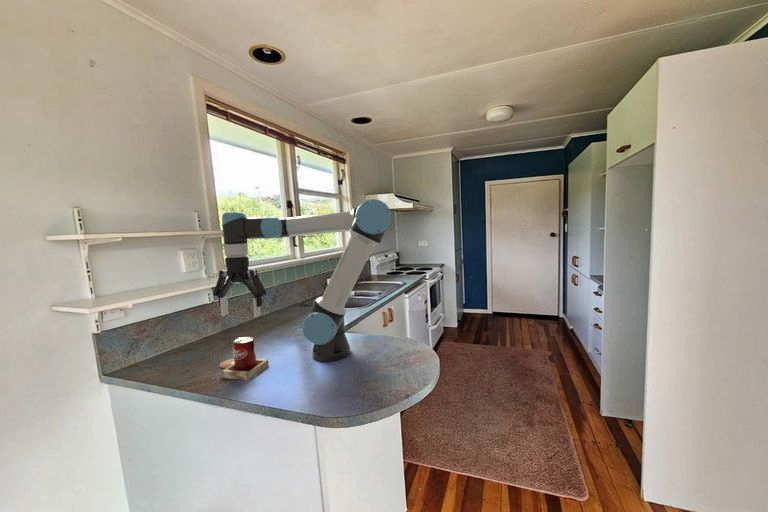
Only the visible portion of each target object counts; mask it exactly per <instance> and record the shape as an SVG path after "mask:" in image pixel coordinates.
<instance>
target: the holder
mask: <svg viewBox="0 0 768 512" xmlns="http://www.w3.org/2000/svg"><path fill="white" fill-rule="evenodd" d="M256 362H257V366H256V367H254V368H253V369H251V370H250V371H235V366H234V364H233V365H231V366H229V367H228V368H223V369H222V370H221V378H222V379H229V380H231V379H232V380H244V381H251V379H253V378H254V377H256V376H257V375H259V374H260V373H261V372H263V371H264V370H266V369H267V368H268V367H269V365H270V364H269V359H262V358H261V359H259V358H258V359H257V358H256Z"/></svg>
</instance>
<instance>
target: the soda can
mask: <svg viewBox="0 0 768 512" xmlns="http://www.w3.org/2000/svg"><path fill="white" fill-rule="evenodd" d="M256 349H257V348H256V340H255V338H254V337H253V336H242V337H238V338H235V339H234V341H233V342H232V350H233V351H232V353H233V359H234V366H235V371H250V370H251V369H253V368H254V367H256V366H257V362H256V359H257V350H256Z"/></svg>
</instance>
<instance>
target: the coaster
mask: <svg viewBox="0 0 768 512" xmlns="http://www.w3.org/2000/svg"><path fill="white" fill-rule="evenodd" d="M233 364H234V358H229V359H226V360H224V361H221V362H220V364H219V368H220V369H226V368H228V367H229V366H231V365H233Z"/></svg>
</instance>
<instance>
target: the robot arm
mask: <svg viewBox="0 0 768 512" xmlns="http://www.w3.org/2000/svg"><path fill="white" fill-rule="evenodd" d="M221 217H222V219H221V220H222V222H221V227H222V234H223V250H224V256H225V259H224V263H225V268H226V269H222V270H221V269H220V270H219V271H218V279H217V282H216V285H215V287H214V289H213V293H212V294H213V296H214V297H217V298H218V305H219V307H220V312H221V313H220V314H221V315H220V316H221V317H223V316H226V315H229V314H230V313H229V301H228V300H229V299H228V295H227V293H229V291H230V289H231V288H232V286H233V284H236V283H238V284H241V283H242V284H243V285H245V287H247V289H248V290H249V292H250V293H251V294H252V295H253V296H254V297H253V298H252V300H253V301H252V302H253V315H254V316H253V317H254V318H257V317H260V316H261V315H262V308H261V307H262V306H263V299H262V298H263V297H264V296H266V295H268V294H267V290H266V289H265V287H264V285H263V283H262V281H261V279H260V277H259V275H258V270H257V269H256V268H254V269H250V270H249V267H250V259H249V258H250V257H248V254H249V248H248V247H249V245H248V240H252V239H253V240H254V239H255V240H256V239H270V240H271V239H282V238H289V237H300V236H310V235H320V234H321V235H322V234H331V233H332V234H333V233H341V232H342V233H344V232H349V233H350V238H349V240H348V242H347V244H346V245H345V248H344V250H343V252H342V254H341V257H340V258H339V261H338V263H337V265H336V266H335V269H334V270H333V273H332V275H331V277H330V279H329V281H328V283H327V285H326V288H325V290H324V292H323V294H322V296H318V297H317V298H316V299H314V300H313V305H312V307H311V308H310V311H309V313H308V315H307V316H305V318H304V319H303V322H302V329H301V330H302V333H303V335H304V338H305V339H306V340H307V341H308V342H310V343H312V344H313V345H312V346H313V347H312V351H311V352H312V353H311V354H312V358H313V359H314V360H316V361H319V362H333V361H334V362H335V361H339V360H342V359H344V358H346V357H348V356H349V355H350V354H351V345H350V344H349V340H348V338H347V335H346V329H345V316H346V314H347V311H346V308H345V306H346V304H347V301H348V300H349V298H350V296H351V293H352V291H353V290H354V287H355V285H356V283H357V281H358V279H359V278H360V275H361V273H362V271H363V269H364V267H365V265H366V262H367V261H368V258H369V257H370V254H371V252H372V251H373V248H374V247H375V246H378V245H380V244H381V241H382V239H383V238H384V235H385V234H386V231H387V230H388V227H389V226H390V224H391V222H392V213H391V209H390V208H389V206H388V204H386V203H385V202H384V201H382V200H380V199H376V198H375V199H374V198H371V199H367V200H365V201H363V202H361V203H360V205H358V207H357V208H352V210H351V211H344V212H343V211H340V212H333V213H332V212H331V213H324V214H322V213H321V214H312V215H301V216H291V217H282V218H281V217H280V218H279V217H278V216H258V217H254V216H253V217H247V216H246V213H245V212H242V211H228V212H224V213H223V214H222V216H221Z"/></svg>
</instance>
